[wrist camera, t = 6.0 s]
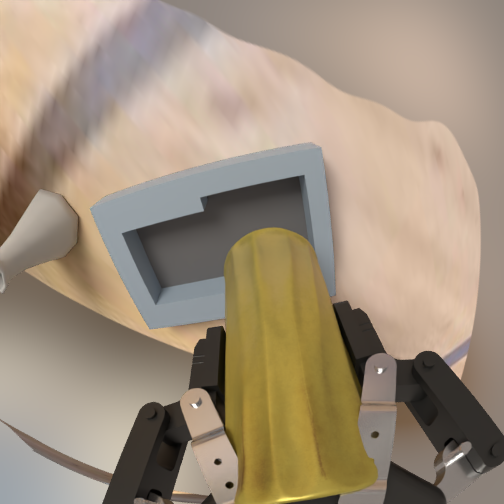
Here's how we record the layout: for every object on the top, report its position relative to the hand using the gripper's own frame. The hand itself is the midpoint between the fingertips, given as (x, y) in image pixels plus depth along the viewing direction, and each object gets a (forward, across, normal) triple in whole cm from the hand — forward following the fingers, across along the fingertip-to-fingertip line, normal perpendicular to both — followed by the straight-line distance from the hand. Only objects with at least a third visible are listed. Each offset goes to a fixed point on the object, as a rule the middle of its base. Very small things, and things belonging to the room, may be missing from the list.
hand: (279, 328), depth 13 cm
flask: (+12, +20, -6) cm, 24 cm away
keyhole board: (+12, +4, 0) cm, 13 cm away
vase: (+6, 0, 0) cm, 6 cm away
